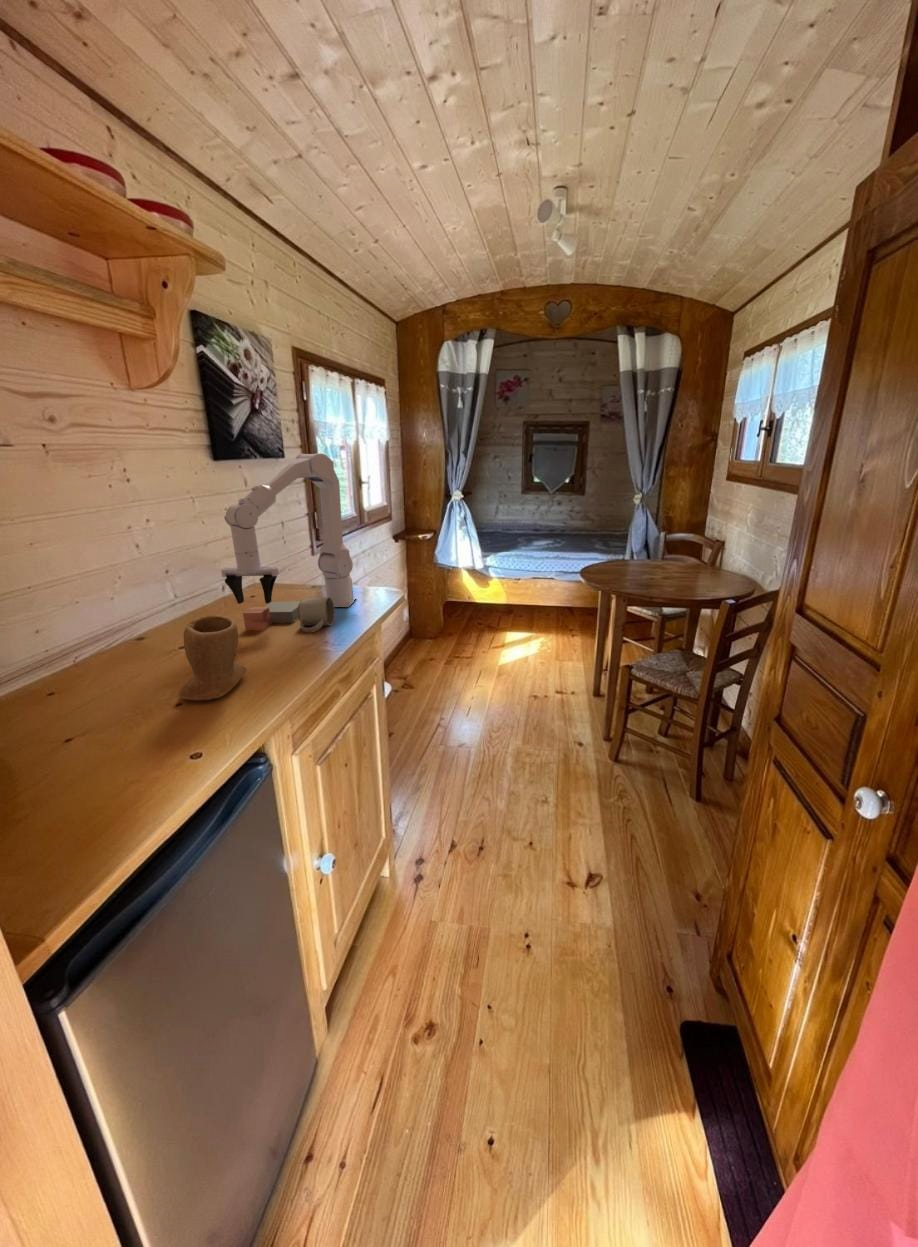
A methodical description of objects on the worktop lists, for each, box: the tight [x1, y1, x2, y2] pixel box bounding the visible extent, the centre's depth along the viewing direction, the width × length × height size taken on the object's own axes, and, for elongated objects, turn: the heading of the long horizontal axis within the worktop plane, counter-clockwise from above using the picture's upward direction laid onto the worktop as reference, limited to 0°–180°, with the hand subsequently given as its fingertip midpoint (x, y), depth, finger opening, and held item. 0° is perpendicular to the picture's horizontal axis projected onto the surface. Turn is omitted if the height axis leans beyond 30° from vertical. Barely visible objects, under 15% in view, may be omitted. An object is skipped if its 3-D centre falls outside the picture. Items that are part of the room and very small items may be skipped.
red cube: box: [242, 606, 273, 631], centre depth 146 cm, size 5×5×5 cm
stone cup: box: [177, 614, 248, 701], centre depth 107 cm, size 15×12×15 cm
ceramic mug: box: [298, 596, 336, 633], centre depth 144 cm, size 11×8×8 cm
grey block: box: [264, 601, 300, 623], centre depth 154 cm, size 10×10×4 cm
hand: (254, 602), depth 144 cm, fingers open, 7 cm apart
